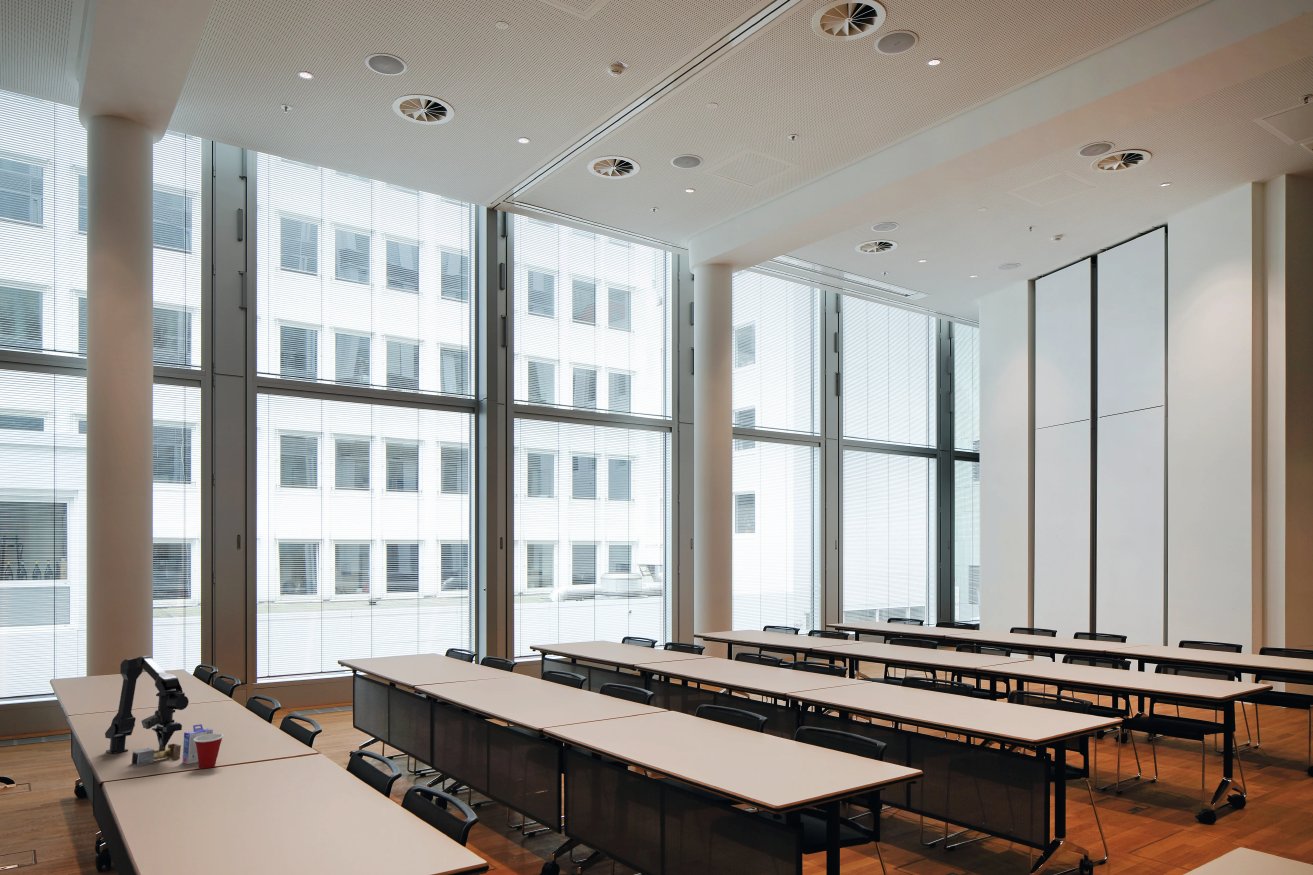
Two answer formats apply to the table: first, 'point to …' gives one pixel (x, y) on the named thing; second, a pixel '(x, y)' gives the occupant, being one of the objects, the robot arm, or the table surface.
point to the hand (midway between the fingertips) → (162, 746)
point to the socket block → (174, 750)
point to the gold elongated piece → (162, 751)
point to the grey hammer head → (142, 756)
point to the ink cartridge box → (193, 743)
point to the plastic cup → (208, 749)
